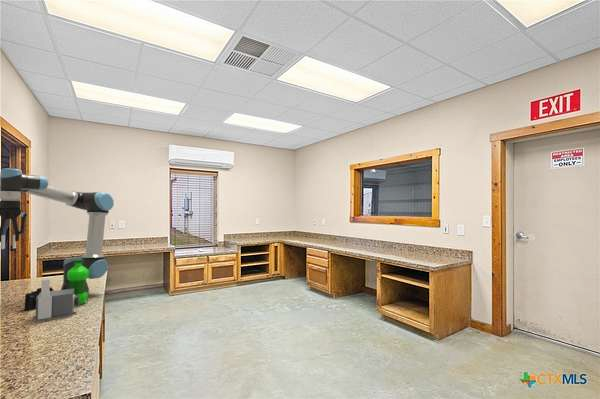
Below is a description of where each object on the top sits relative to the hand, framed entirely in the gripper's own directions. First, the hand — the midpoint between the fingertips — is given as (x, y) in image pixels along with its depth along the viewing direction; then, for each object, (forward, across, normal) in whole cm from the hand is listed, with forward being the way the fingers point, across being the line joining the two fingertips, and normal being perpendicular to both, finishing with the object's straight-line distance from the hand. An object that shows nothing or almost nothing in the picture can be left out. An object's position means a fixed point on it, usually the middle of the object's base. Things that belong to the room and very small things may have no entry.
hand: (8, 248), depth 148 cm
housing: (+35, +20, -4) cm, 40 cm away
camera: (+35, +12, +16) cm, 40 cm away
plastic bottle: (+35, +27, +13) cm, 46 cm away
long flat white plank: (+34, +16, -10) cm, 38 cm away
